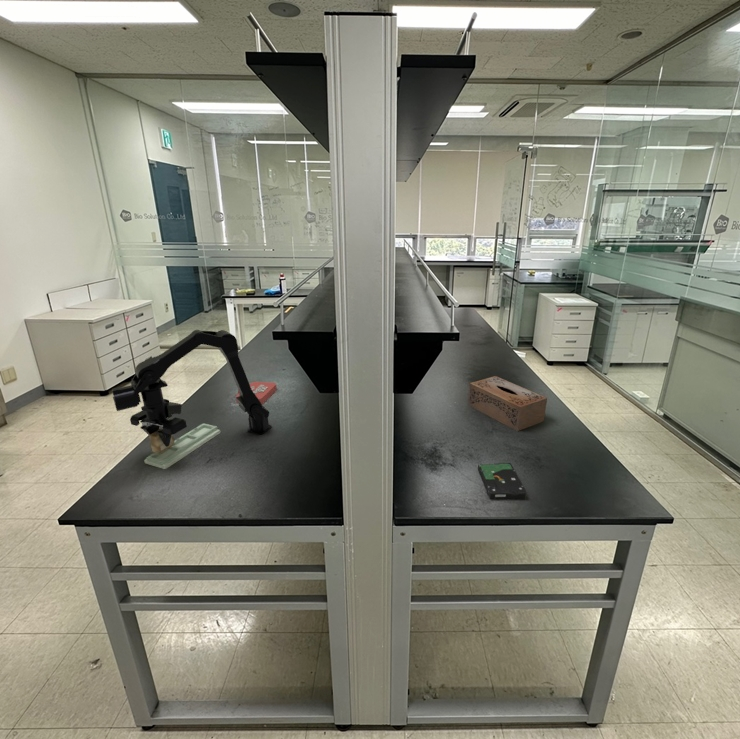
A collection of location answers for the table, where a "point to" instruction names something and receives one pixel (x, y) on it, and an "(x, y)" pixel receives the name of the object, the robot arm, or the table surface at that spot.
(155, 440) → the tan rectangular box
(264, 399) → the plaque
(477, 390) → the tissue box cover
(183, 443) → the rail board
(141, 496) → the table surface
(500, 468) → the disk drive
